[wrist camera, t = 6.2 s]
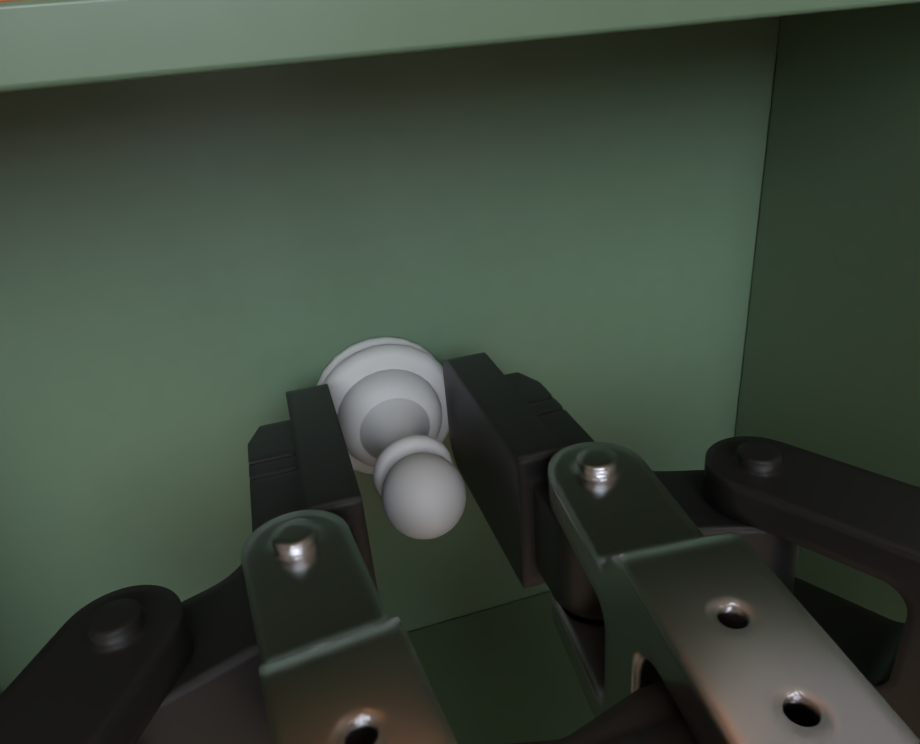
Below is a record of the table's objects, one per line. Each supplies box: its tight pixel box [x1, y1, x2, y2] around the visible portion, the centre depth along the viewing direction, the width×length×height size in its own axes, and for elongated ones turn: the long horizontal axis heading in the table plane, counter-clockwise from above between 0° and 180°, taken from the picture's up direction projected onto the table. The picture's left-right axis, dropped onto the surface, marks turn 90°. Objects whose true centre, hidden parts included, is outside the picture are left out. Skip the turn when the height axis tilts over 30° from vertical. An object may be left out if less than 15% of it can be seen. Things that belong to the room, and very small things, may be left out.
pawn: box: [316, 336, 466, 539], centre depth 12 cm, size 3×3×4 cm
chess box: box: [0, 0, 920, 744], centre depth 11 cm, size 17×13×6 cm
